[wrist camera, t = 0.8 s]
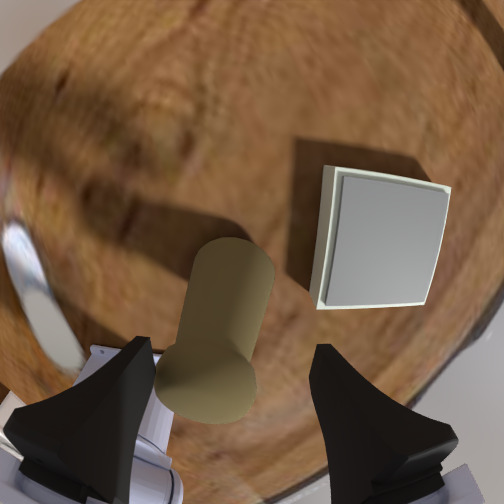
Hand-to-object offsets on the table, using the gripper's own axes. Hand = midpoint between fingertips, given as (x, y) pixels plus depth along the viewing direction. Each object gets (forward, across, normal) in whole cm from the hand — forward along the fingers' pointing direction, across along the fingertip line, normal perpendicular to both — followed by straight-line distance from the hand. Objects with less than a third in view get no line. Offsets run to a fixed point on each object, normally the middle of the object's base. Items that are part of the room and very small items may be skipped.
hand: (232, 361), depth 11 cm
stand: (+10, -11, -3) cm, 15 cm away
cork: (+10, 0, 0) cm, 10 cm away
